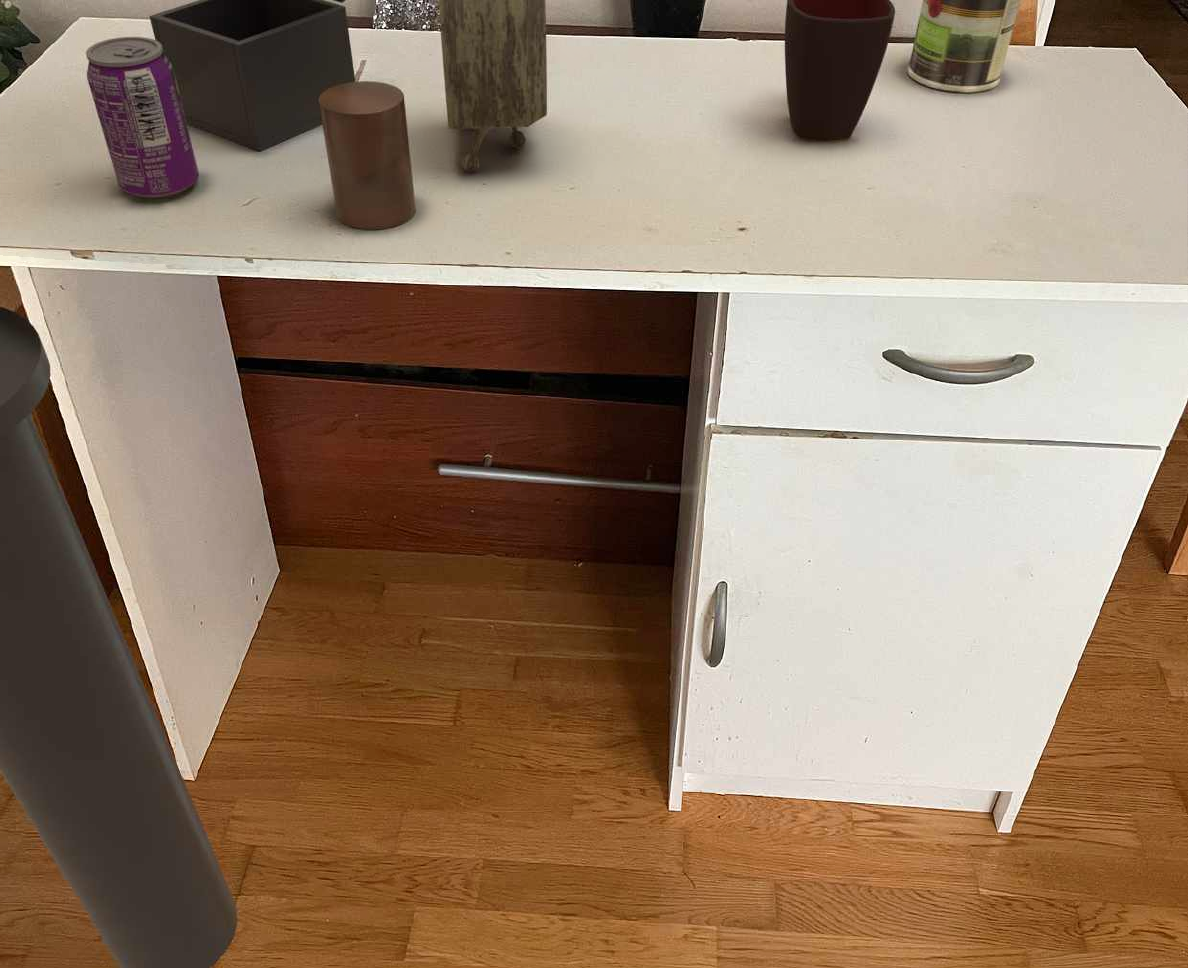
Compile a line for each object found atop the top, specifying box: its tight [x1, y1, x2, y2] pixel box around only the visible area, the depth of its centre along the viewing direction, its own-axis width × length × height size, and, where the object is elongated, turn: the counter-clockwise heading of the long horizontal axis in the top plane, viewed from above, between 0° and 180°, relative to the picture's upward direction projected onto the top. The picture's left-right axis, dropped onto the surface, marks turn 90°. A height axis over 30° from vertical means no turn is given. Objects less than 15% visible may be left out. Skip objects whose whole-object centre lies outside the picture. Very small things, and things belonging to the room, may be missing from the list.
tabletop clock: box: [437, 0, 548, 173], centre depth 101 cm, size 14×9×25 cm, turn 6°
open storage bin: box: [149, 0, 356, 152], centre depth 111 cm, size 14×13×10 cm
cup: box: [784, 0, 896, 142], centre depth 111 cm, size 10×14×12 cm
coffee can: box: [907, 0, 1022, 94], centre depth 120 cm, size 10×10×14 cm
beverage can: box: [85, 36, 200, 199], centre depth 98 cm, size 7×7×12 cm
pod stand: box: [319, 80, 417, 231], centre depth 96 cm, size 7×7×10 cm
